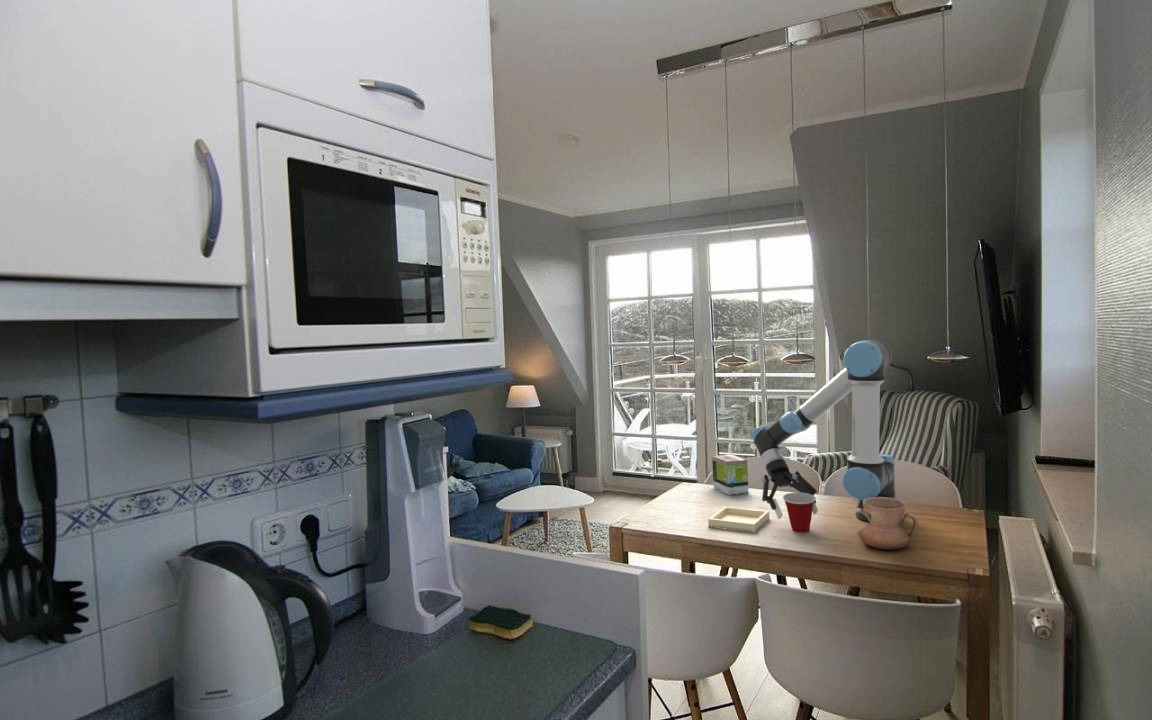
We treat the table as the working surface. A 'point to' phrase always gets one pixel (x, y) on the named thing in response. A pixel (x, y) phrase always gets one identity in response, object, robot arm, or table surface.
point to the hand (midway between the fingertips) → (798, 514)
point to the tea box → (730, 474)
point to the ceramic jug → (885, 523)
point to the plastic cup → (799, 510)
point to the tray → (739, 519)
